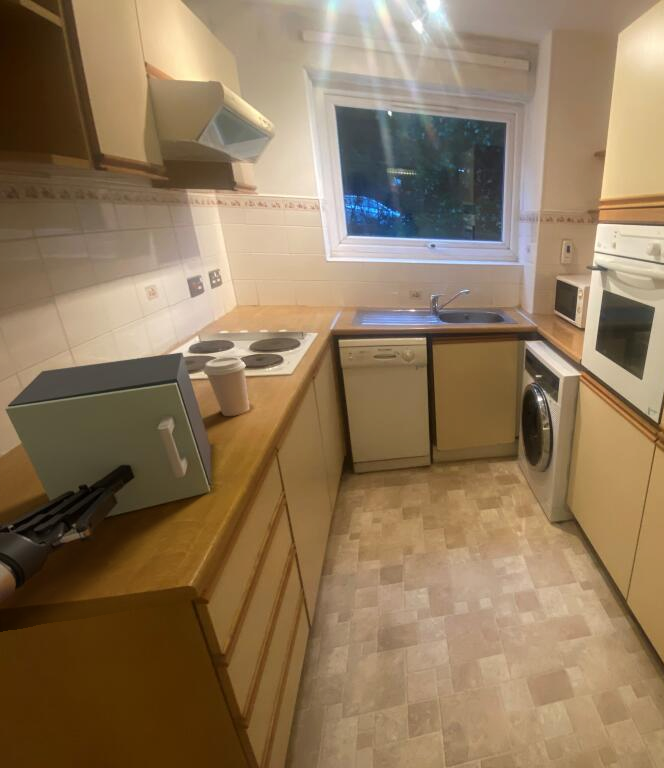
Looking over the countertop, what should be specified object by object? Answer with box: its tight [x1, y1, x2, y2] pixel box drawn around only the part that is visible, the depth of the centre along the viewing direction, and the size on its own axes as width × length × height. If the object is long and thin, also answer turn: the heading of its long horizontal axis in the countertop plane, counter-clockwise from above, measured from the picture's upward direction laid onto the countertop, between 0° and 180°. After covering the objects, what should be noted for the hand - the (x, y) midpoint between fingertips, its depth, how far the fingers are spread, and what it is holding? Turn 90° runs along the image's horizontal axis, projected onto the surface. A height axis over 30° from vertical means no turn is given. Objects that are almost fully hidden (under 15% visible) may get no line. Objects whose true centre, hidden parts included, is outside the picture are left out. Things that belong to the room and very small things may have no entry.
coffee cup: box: [203, 356, 251, 417], centre depth 118 cm, size 10×10×15 cm
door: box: [4, 383, 211, 518], centre depth 75 cm, size 7×22×24 cm, turn 119°
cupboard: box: [7, 352, 211, 486], centre depth 86 cm, size 18×22×24 cm
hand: (127, 471), depth 78 cm, fingers closed
